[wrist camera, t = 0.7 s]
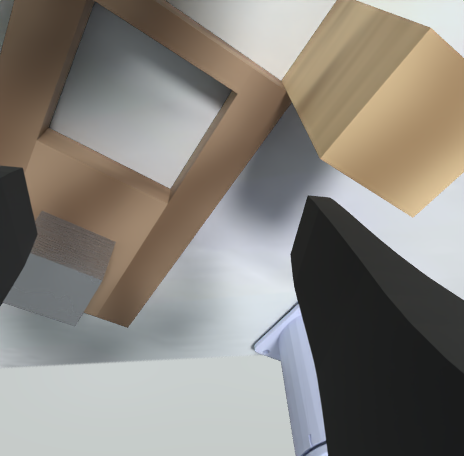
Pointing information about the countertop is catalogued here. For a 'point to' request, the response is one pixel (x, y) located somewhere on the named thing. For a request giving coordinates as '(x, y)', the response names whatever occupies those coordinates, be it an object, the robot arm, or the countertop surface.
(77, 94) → the countertop surface
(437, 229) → the countertop surface
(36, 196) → the brown wooden frame
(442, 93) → the oak peg
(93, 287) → the gray cube
